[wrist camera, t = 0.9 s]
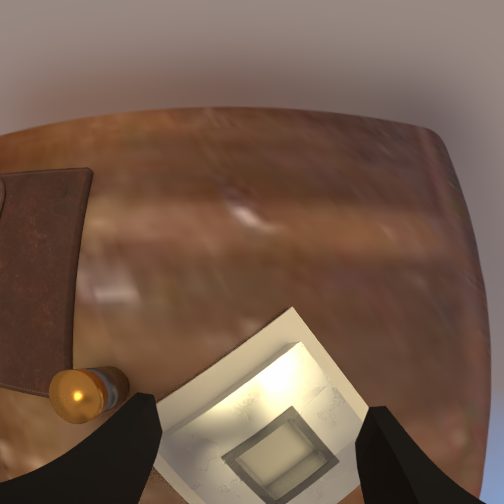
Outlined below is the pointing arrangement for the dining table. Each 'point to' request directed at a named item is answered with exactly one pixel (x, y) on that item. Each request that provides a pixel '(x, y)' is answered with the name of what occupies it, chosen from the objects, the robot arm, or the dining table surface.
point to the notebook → (39, 273)
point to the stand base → (234, 369)
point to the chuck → (263, 424)
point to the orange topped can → (87, 392)
